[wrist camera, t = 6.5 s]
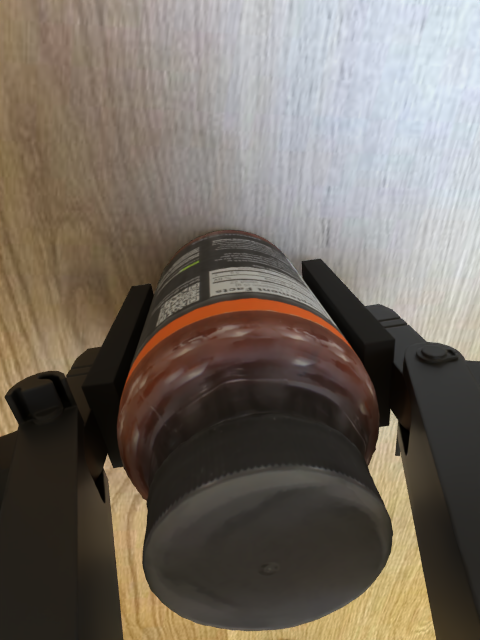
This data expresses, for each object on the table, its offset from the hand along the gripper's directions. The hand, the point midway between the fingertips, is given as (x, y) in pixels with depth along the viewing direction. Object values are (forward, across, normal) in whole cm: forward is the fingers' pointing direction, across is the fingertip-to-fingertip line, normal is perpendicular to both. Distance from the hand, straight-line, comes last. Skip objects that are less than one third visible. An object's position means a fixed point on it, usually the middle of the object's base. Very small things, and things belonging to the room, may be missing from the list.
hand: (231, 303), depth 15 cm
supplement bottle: (+1, 0, 0) cm, 1 cm away
